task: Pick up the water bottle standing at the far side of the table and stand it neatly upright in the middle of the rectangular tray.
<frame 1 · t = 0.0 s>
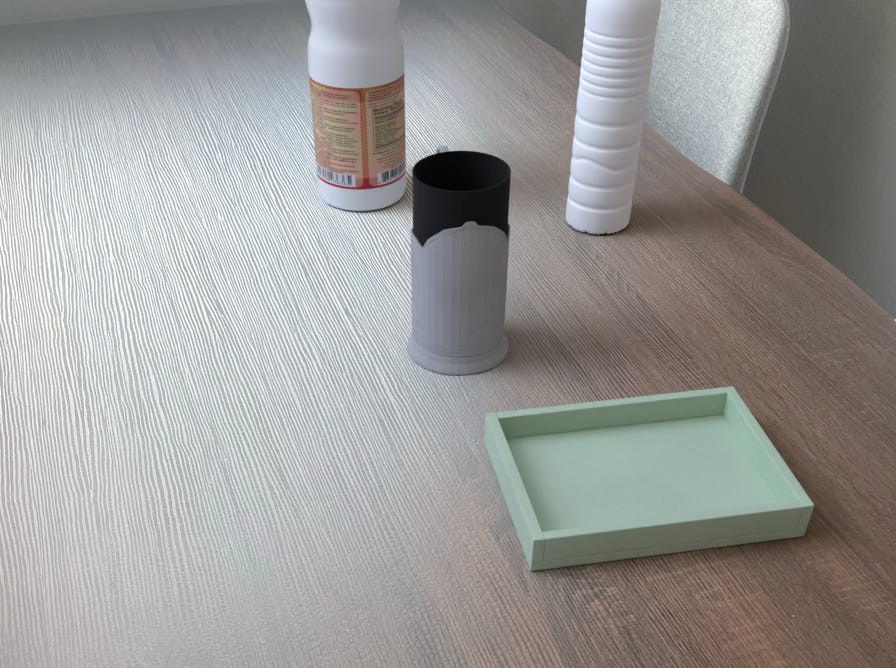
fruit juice: (362, 195, 109), on the table
rectangular tray: (635, 487, 75), on the table
glass holder: (451, 332, 90), on the table
water bottle: (597, 218, 105), on the table
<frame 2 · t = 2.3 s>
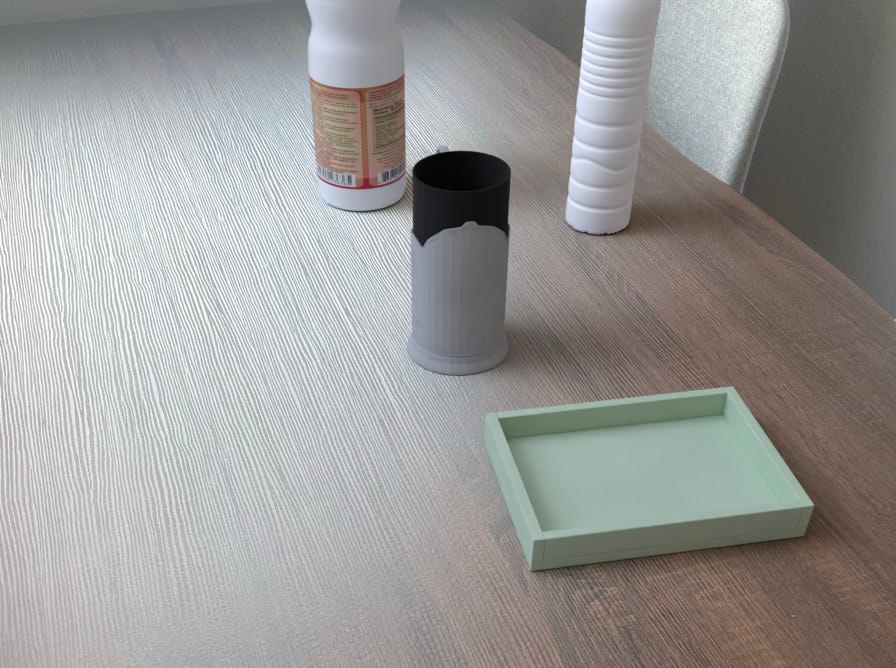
nothing on the table moved.
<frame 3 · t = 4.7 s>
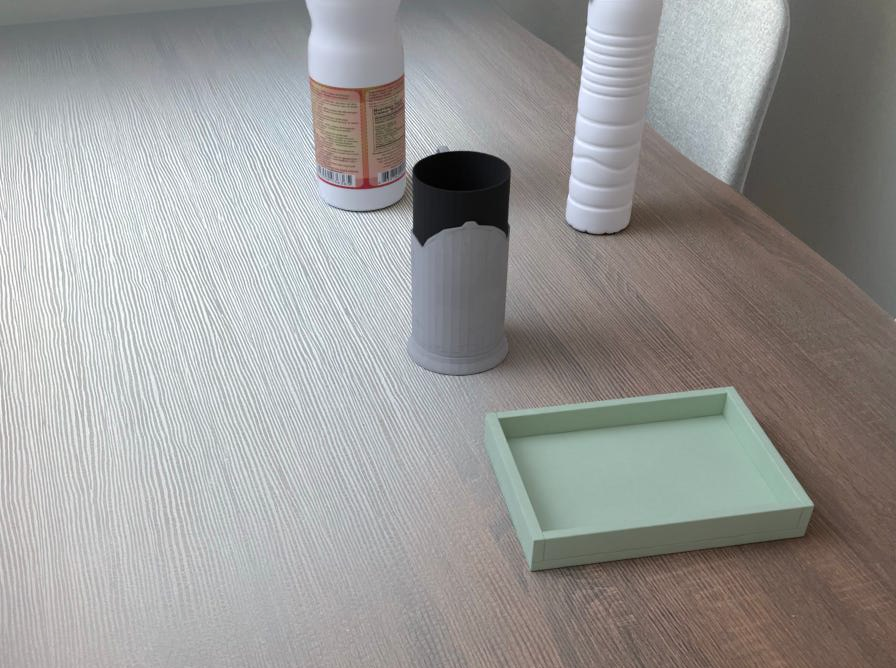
water bottle: (597, 218, 105), on the table, touching gripper
everything else where it was.
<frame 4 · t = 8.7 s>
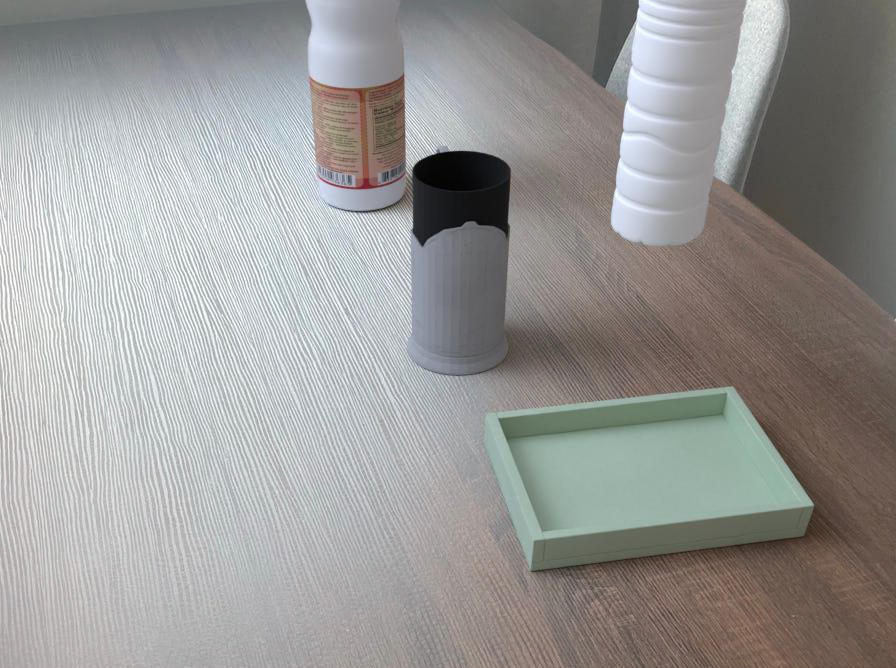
water bottle: (656, 223, 73), point 14 cm above the table, touching gripper
everything else where it was.
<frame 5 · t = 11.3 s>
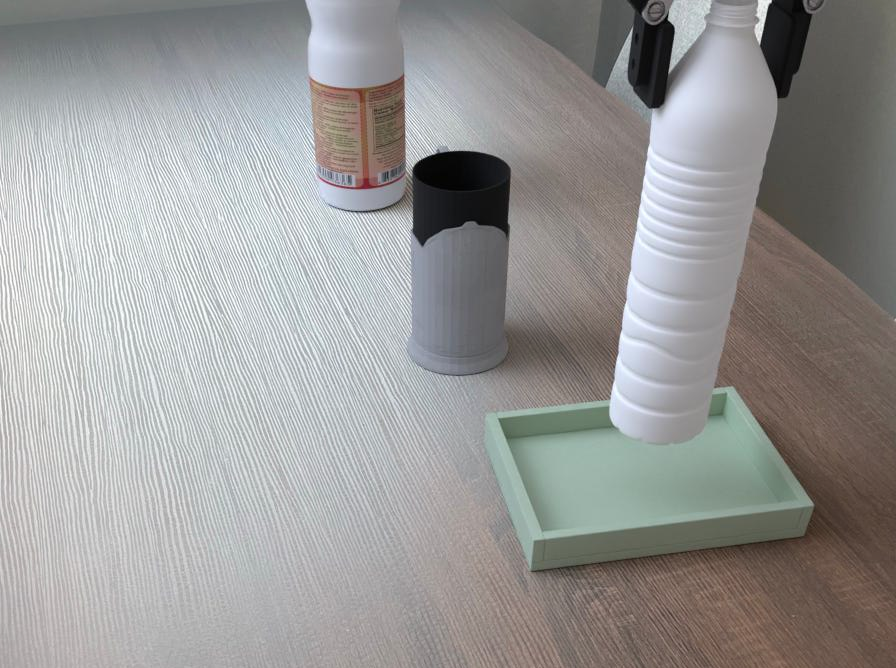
hand: (709, 91, 55), 27 cm above the table, tool pointing down, fingers closed on water bottle, 6 cm apart
water bottle: (656, 412, 70), point 7 cm above the table, touching gripper
everything else where it was.
when the fingers open (21 cm above the table, at t = 13.2 s): water bottle stays where it is, resting on rectangular tray.
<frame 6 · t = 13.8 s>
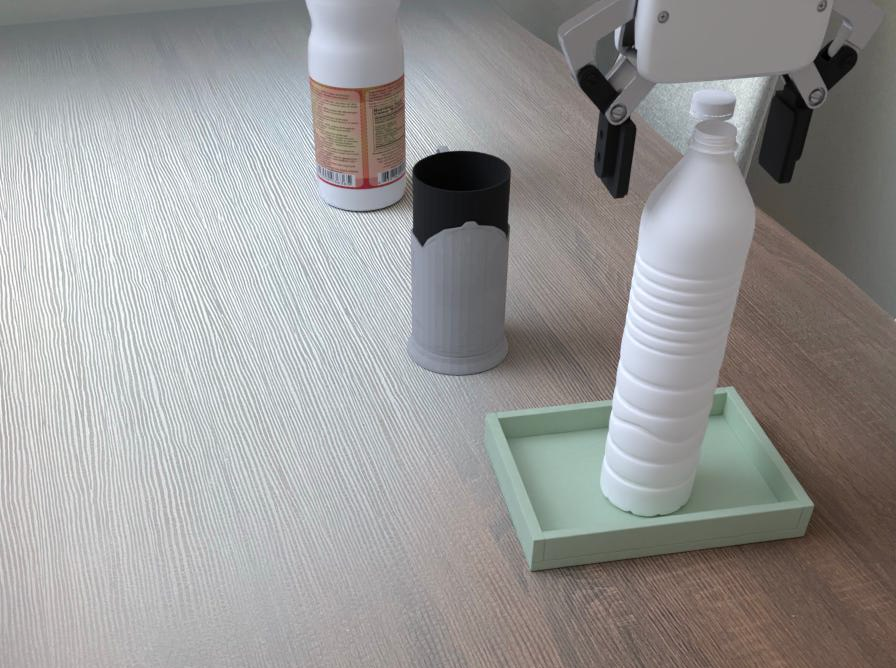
hand: (693, 181, 59), 22 cm above the table, tool pointing down, fingers open, 9 cm apart
water bottle: (644, 481, 75), point 1 cm above the table, touching rectangular tray
everything else where it was.
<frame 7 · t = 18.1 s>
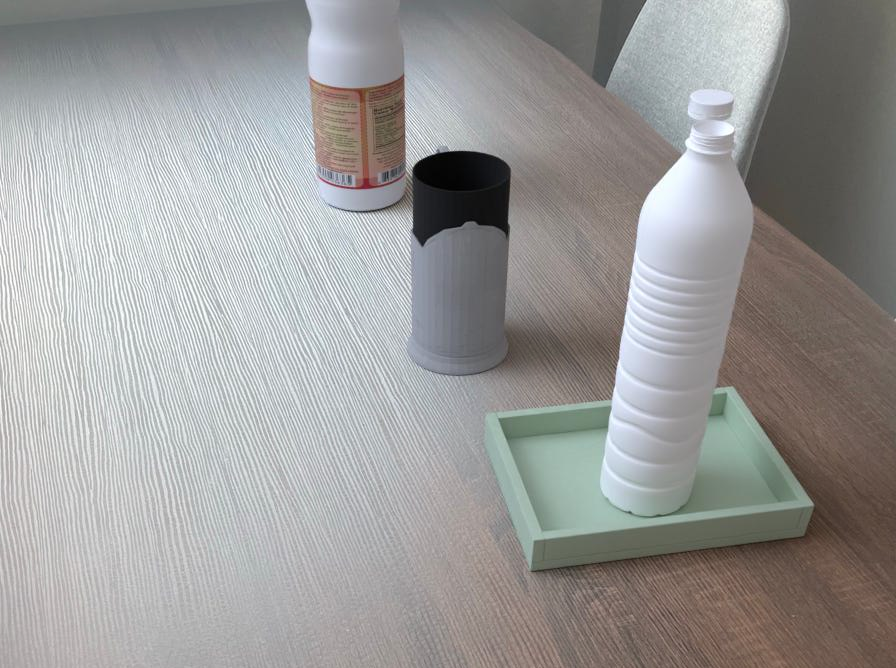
nothing on the table moved.
at the end: water bottle inside the target area in the rectangular tray (0.5 cm from its centre), point 0.6 cm above the rectangular tray's base; water bottle tilted 0°; the gripper is holding nothing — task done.
